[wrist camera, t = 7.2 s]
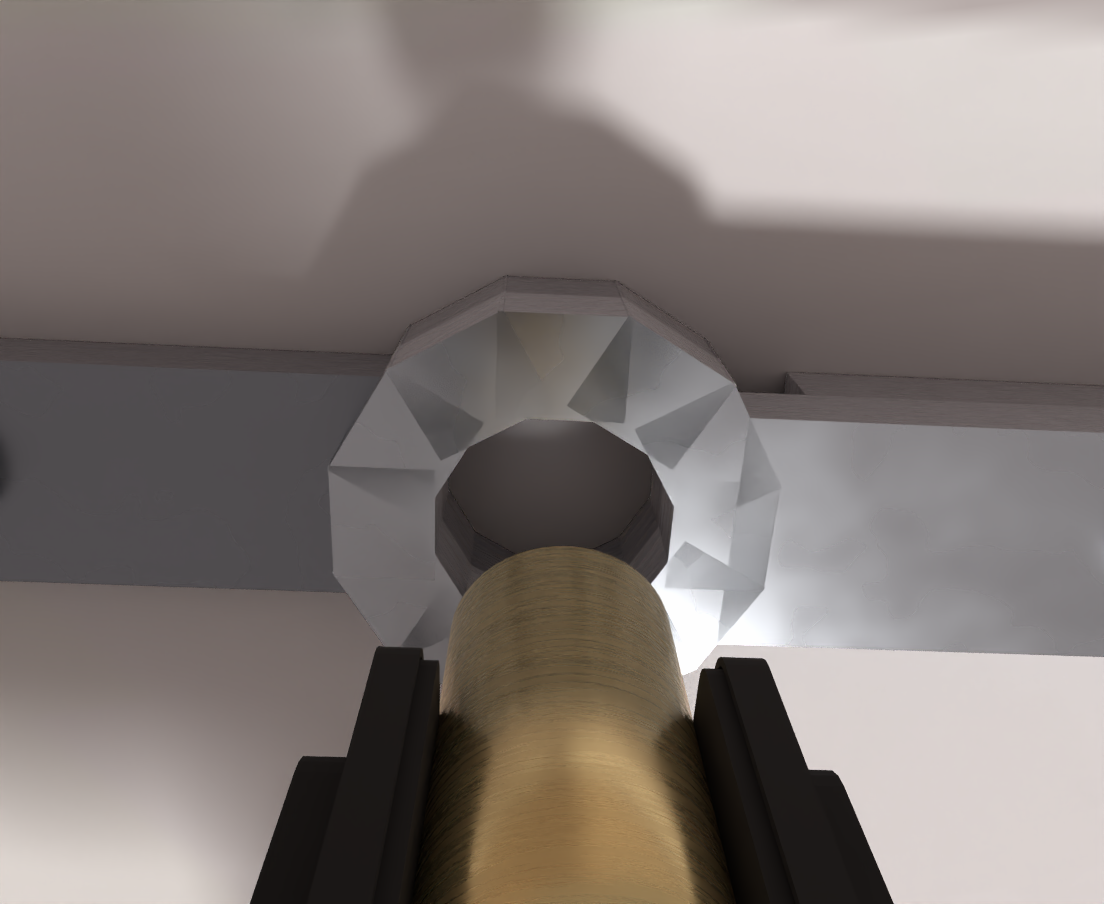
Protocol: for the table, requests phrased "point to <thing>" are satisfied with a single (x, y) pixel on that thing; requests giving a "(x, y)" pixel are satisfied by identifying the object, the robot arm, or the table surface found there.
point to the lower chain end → (208, 458)
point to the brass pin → (566, 746)
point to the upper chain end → (744, 489)
